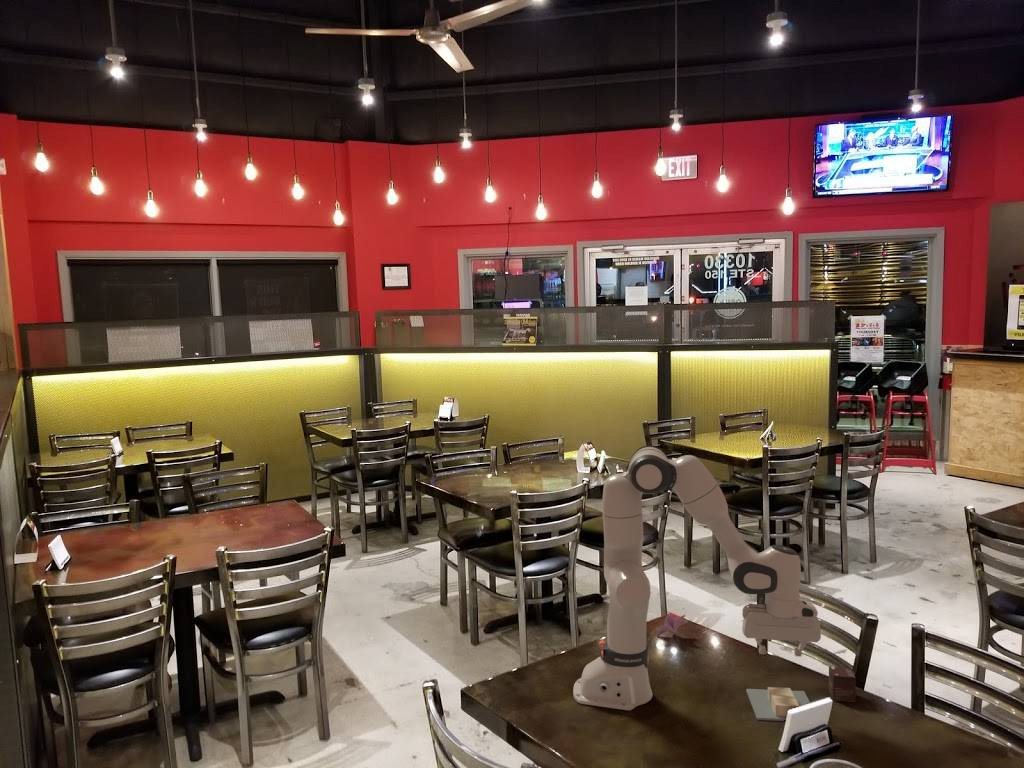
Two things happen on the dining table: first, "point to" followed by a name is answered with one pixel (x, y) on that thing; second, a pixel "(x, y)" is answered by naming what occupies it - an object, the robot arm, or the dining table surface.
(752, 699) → the placemat
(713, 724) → the dining table surface
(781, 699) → the birch slab
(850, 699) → the box
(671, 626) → the lily
